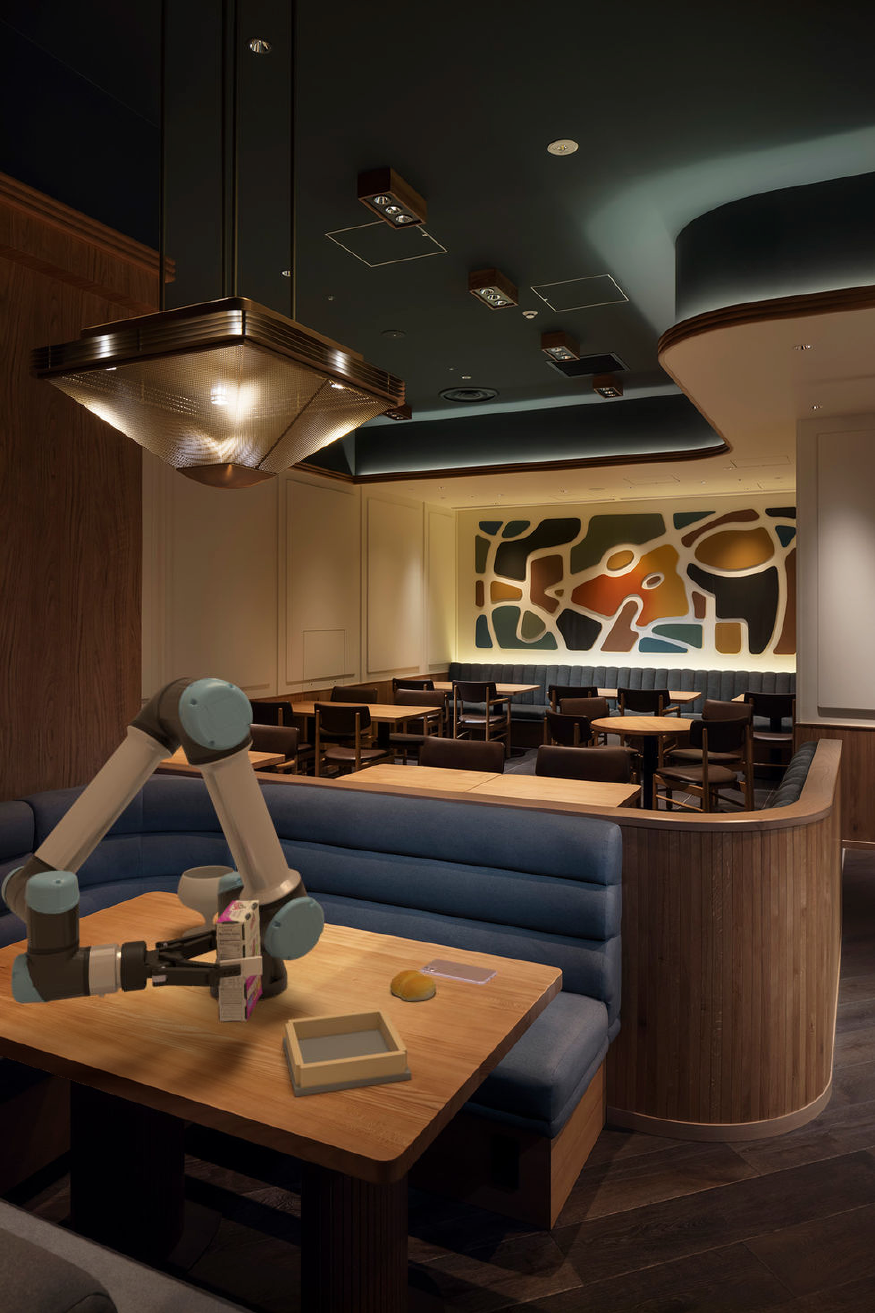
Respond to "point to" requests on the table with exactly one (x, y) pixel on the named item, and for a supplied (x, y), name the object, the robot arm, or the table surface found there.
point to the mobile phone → (458, 971)
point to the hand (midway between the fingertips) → (259, 951)
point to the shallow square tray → (344, 1052)
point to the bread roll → (413, 986)
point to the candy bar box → (234, 942)
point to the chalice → (202, 893)
